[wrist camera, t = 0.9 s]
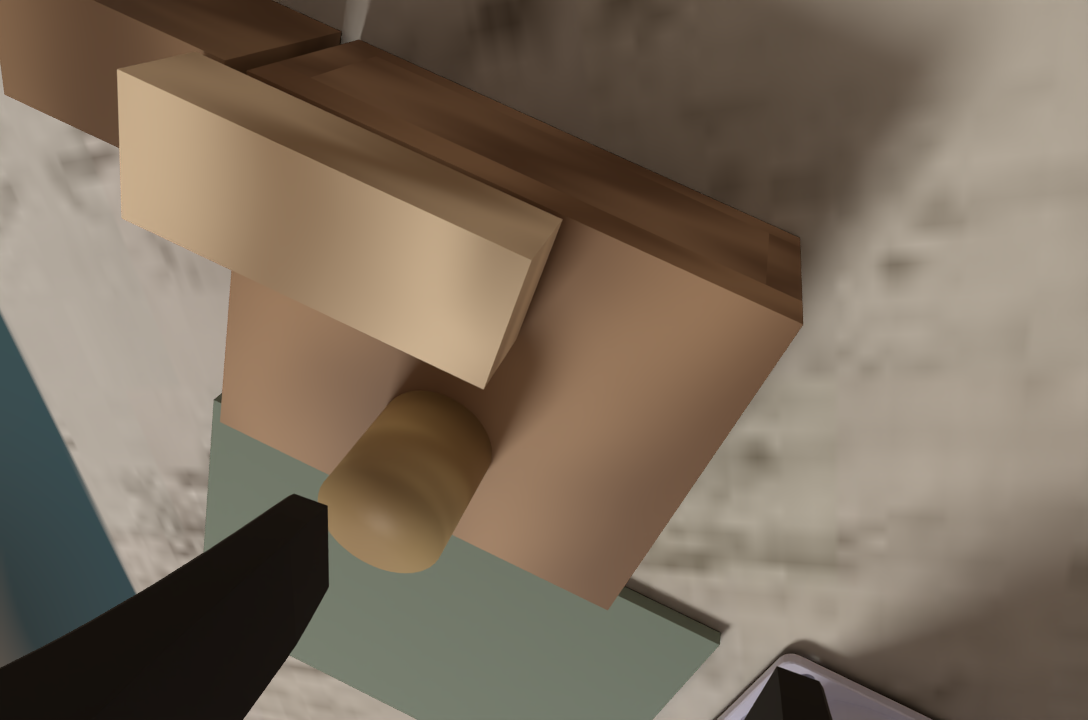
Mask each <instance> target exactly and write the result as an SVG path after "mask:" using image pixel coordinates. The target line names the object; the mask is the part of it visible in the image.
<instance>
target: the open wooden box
mask: <svg viewBox="0 0 1088 720" xmlns="http://www.w3.org/2000/svg"><path fill="white" fill-rule="evenodd" d="M340 38H341V31H339V30H337V29H334V28H332V27H330V26H328V25H326V24H323V23H321V22H319V21H317V20H314V19H312V18H310V17H308V16H306V15H303V14H301V13H299V12H297V11H294V10H292V9H290V8H288V7H286V6H283V5H281V4H279V3H277V2H274V1H272V0H0V63H1V71H2V79H3V87H4V94H5V95H7V96H9V97H11V98H13V99H15V100H18V101H20V102H22V103H24V104H26V105H28V106H30V107H32V108H35V109H37V110H39V111H41V112H43V113H45V114H47V115H50V116H52V117H54V118H56V119H58V120H60V121H62V122H65V123H67V124H69V125H71V126H73V127H75V128H77V129H80V130H82V131H84V132H86V133H88V134H90V135H92V136H94V137H97V138H99V139H101V140H103V141H105V142H107V143H109V144H112V145H114V146H116V147H118V148H119V118H118V87H117V69H119V68H124V67H128V66H133V65H137V64H142V63H146V62H151V61H156V60H160V59H165V58H169V57H174V56H178V55H183V54H188V53H192V52H197V53H200V54H202V55H204V56H206V57H208V58H210V59H213V60H215V61H217V62H219V63H221V64H224V65H226V66H228V67H230V68H232V69H235V70H237V71H239V72H241V73H243V74H245V75H246V74H247V70H250V69H254V68H257V67H261V66H265V65H268V64H272V63H276V62H277V63H279V64H281V65H284V66H286V67H288V68H290V69H292V70H295V71H297V72H299V73H301V74H303V75H306V76H308V77H310V78H312V79H314V80H317V81H319V82H321V83H323V84H325V85H328V86H330V87H332V88H334V89H336V90H339V91H341V92H343V93H345V94H347V95H350V96H352V97H354V98H356V99H358V100H361V101H363V102H365V103H367V104H369V105H372V106H374V107H376V108H378V109H380V110H383V111H385V112H387V113H389V114H391V115H394V116H396V117H398V118H400V119H402V120H405V121H407V122H409V123H411V124H413V125H416V126H418V127H420V128H422V129H424V130H427V131H429V132H431V133H433V134H435V135H438V136H440V137H442V138H444V139H446V140H449V141H451V142H453V143H455V144H457V145H460V146H462V147H464V148H466V149H468V150H471V151H473V152H475V153H477V154H479V155H482V156H484V157H486V158H488V159H490V160H493V161H495V162H497V163H499V164H501V165H503V166H506V167H508V168H510V169H512V170H514V171H517V172H519V173H521V174H523V175H525V176H528V177H530V178H532V179H534V180H536V181H539V182H541V183H543V184H545V185H547V186H550V187H552V188H554V189H556V190H558V191H561V192H563V193H565V194H567V195H569V196H572V197H574V198H576V199H578V200H580V201H583V202H585V203H587V204H589V205H591V206H594V207H596V208H598V209H600V210H602V211H605V212H607V213H609V214H611V215H613V216H616V217H618V218H620V219H622V220H624V221H627V222H629V223H631V224H633V225H635V226H638V227H640V228H642V229H644V230H646V231H649V232H651V233H653V234H655V235H657V236H660V237H662V238H664V239H666V240H668V241H671V242H673V243H675V244H677V245H679V246H682V247H684V248H686V249H688V250H690V251H693V252H695V253H697V254H699V255H701V256H704V257H706V258H708V259H710V260H712V261H715V262H717V263H719V264H721V265H723V266H726V267H728V268H730V269H732V270H734V271H737V272H739V273H741V274H743V275H745V276H748V277H750V278H752V279H754V280H756V281H759V282H761V283H763V284H765V285H767V286H770V287H772V288H774V289H776V290H778V291H781V292H783V293H785V294H787V295H789V296H791V297H794V298H796V299H798V300H800V301H802V278H801V250H800V238H799V237H797V236H794V235H792V234H790V233H788V232H785V231H783V230H781V229H779V228H777V227H774V226H772V225H770V224H768V223H765V222H763V221H761V220H759V219H757V218H754V217H752V216H750V215H748V214H745V213H743V212H741V211H739V210H737V209H734V208H732V207H730V206H728V205H725V204H723V203H721V202H719V201H717V200H714V199H712V198H710V197H708V196H705V195H703V194H701V193H699V192H697V191H694V190H692V189H690V188H688V187H685V186H683V185H681V184H679V183H677V182H674V181H672V180H670V179H668V178H666V177H663V176H661V175H659V174H657V173H654V172H652V171H650V170H648V169H646V168H643V167H641V166H639V165H637V164H634V163H632V162H630V161H628V160H626V159H623V158H621V157H619V156H617V155H614V154H612V153H610V152H608V151H606V150H603V149H601V148H599V147H597V146H594V145H592V144H590V143H588V142H586V141H583V140H581V139H579V138H577V137H574V136H572V135H570V134H568V133H566V132H563V131H561V130H559V129H557V128H554V127H552V126H550V125H548V124H546V123H543V122H541V121H539V120H537V119H534V118H532V117H530V116H528V115H526V114H523V113H521V112H519V111H517V110H514V109H512V108H510V107H508V106H506V105H503V104H501V103H499V102H497V101H494V100H492V99H490V98H488V97H486V96H483V95H481V94H479V93H477V92H474V91H472V90H470V89H468V88H466V87H463V86H461V85H459V84H457V83H454V82H452V81H450V80H448V79H446V78H443V77H441V76H439V75H437V74H434V73H432V72H430V71H428V70H426V69H423V68H421V67H419V66H417V65H414V64H412V63H410V62H408V61H406V60H403V59H401V58H399V57H397V56H394V55H392V54H390V53H388V52H386V51H383V50H381V49H379V48H377V47H374V46H372V45H370V44H368V43H366V42H363V41H361V40H356V41H352V42H349V43H345V44H341V45H339V44H340Z"/></svg>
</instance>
